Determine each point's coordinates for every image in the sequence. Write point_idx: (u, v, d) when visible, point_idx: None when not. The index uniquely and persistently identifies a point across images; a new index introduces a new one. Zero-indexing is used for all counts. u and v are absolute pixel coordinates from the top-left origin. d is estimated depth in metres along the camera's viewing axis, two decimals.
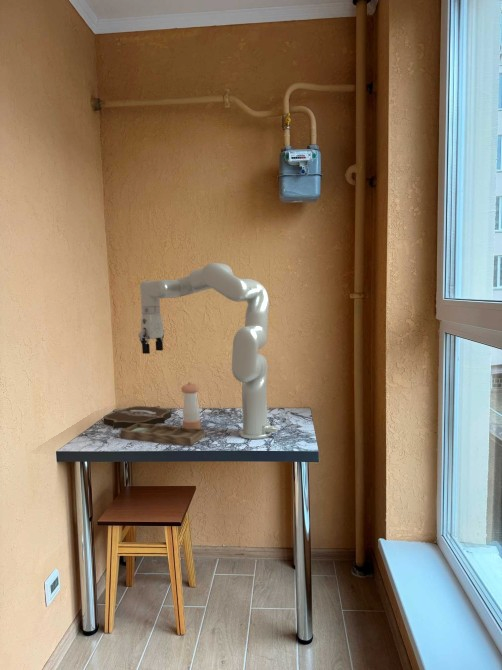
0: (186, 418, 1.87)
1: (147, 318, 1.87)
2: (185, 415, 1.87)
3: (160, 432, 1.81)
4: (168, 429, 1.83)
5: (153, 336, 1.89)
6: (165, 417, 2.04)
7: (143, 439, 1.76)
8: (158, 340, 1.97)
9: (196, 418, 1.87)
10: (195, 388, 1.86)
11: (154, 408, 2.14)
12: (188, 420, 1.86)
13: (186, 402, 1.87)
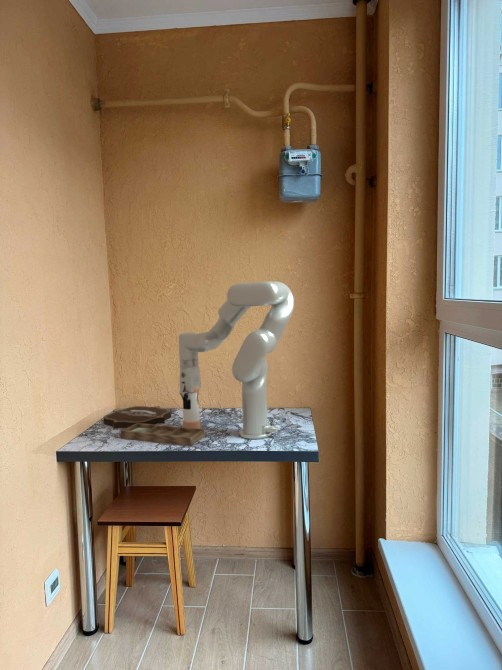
0: (186, 418, 1.87)
1: (186, 372, 1.83)
2: (185, 415, 1.87)
3: (160, 432, 1.81)
4: (168, 429, 1.83)
5: (192, 390, 1.84)
6: (165, 417, 2.04)
7: (143, 439, 1.76)
8: None
9: (196, 418, 1.87)
10: (195, 388, 1.86)
11: (154, 408, 2.14)
12: (188, 420, 1.86)
13: None
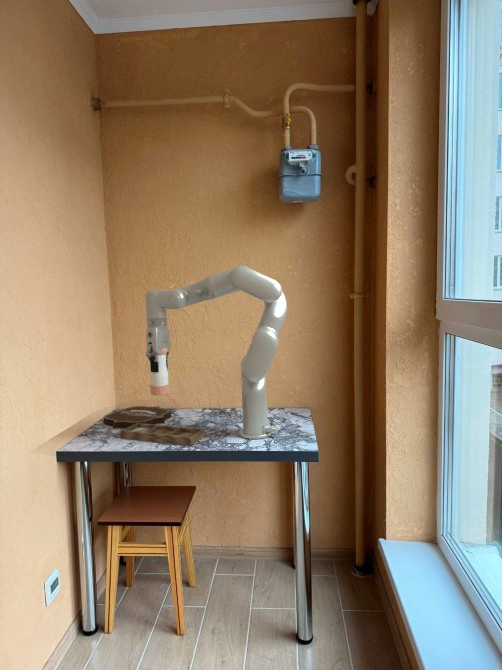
0: (153, 382, 1.74)
1: (153, 331, 1.70)
2: (152, 378, 1.74)
3: (160, 432, 1.81)
4: (168, 429, 1.83)
5: (159, 351, 1.72)
6: (165, 417, 2.04)
7: (143, 439, 1.76)
8: None
9: (165, 382, 1.75)
10: (163, 349, 1.73)
11: (154, 408, 2.14)
12: (156, 384, 1.74)
13: None
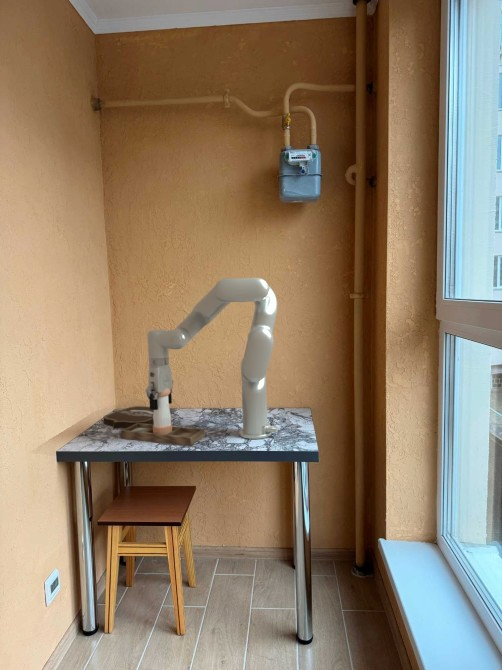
0: (156, 423, 1.75)
1: (155, 371, 1.72)
2: (155, 420, 1.76)
3: None
4: None
5: (161, 390, 1.73)
6: None
7: (143, 439, 1.76)
8: None
9: (167, 423, 1.76)
10: (166, 391, 1.75)
11: None
12: (158, 425, 1.75)
13: None
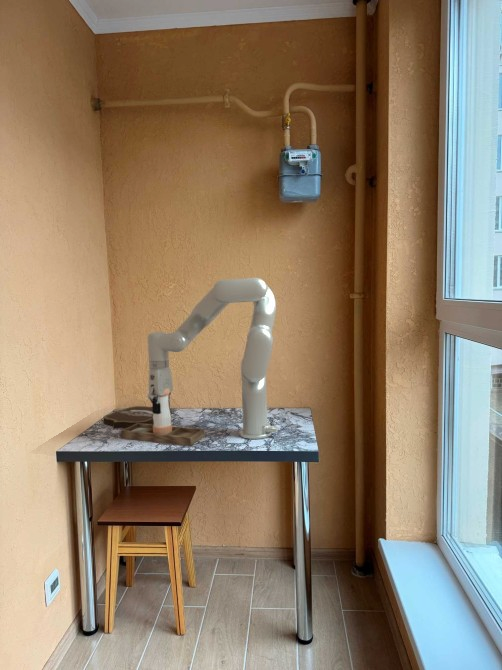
0: (156, 423, 1.75)
1: (155, 374, 1.72)
2: (155, 420, 1.76)
3: None
4: None
5: (162, 393, 1.73)
6: None
7: (143, 439, 1.76)
8: None
9: (167, 423, 1.76)
10: (165, 391, 1.75)
11: None
12: (158, 425, 1.75)
13: None
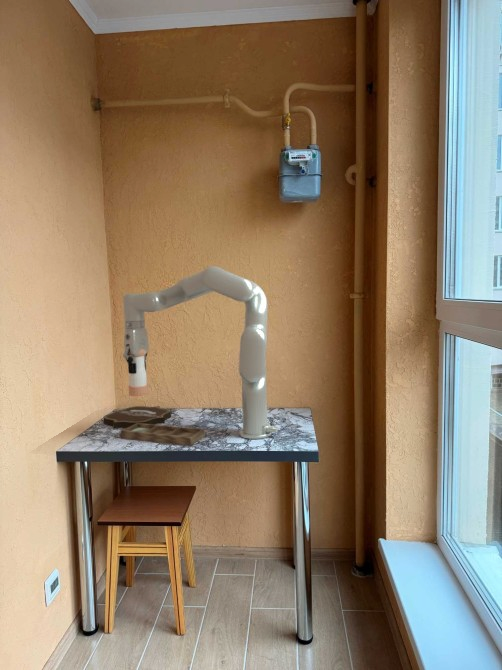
0: (132, 383, 1.78)
1: (130, 334, 1.74)
2: (131, 380, 1.78)
3: (160, 432, 1.81)
4: (168, 429, 1.83)
5: (137, 353, 1.76)
6: (165, 417, 2.04)
7: (143, 439, 1.76)
8: None
9: (143, 383, 1.79)
10: (141, 351, 1.77)
11: (154, 408, 2.14)
12: (134, 385, 1.78)
13: None
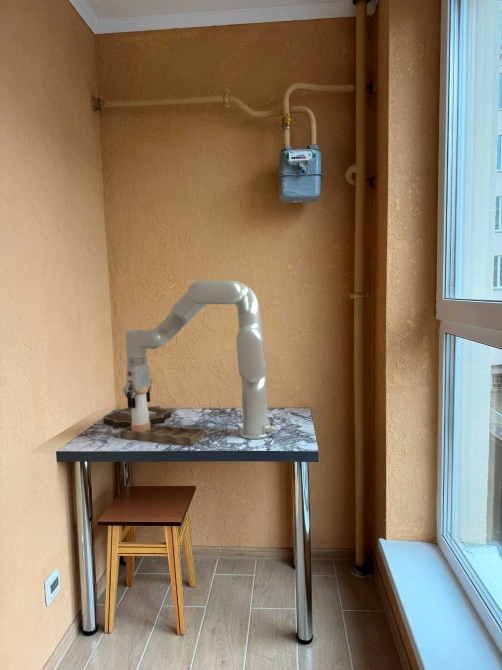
0: (134, 420, 1.79)
1: (133, 370, 1.75)
2: (133, 417, 1.79)
3: (160, 432, 1.81)
4: (168, 429, 1.83)
5: (139, 389, 1.77)
6: (165, 417, 2.04)
7: (143, 439, 1.76)
8: None
9: (145, 421, 1.80)
10: (143, 389, 1.79)
11: (154, 408, 2.14)
12: (136, 423, 1.79)
13: None
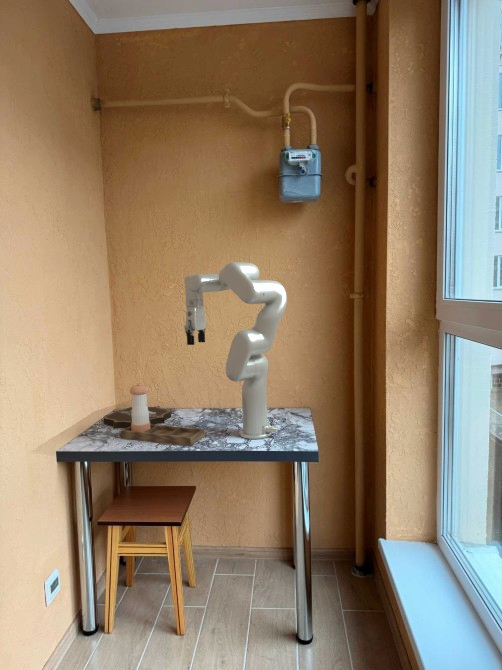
0: (134, 421, 1.79)
1: (192, 311, 1.95)
2: (133, 417, 1.79)
3: (160, 432, 1.81)
4: (168, 429, 1.83)
5: (197, 328, 1.97)
6: (165, 417, 2.04)
7: (143, 439, 1.76)
8: (200, 332, 2.05)
9: (145, 421, 1.80)
10: (143, 389, 1.79)
11: (154, 408, 2.14)
12: (136, 423, 1.79)
13: (134, 404, 1.79)
